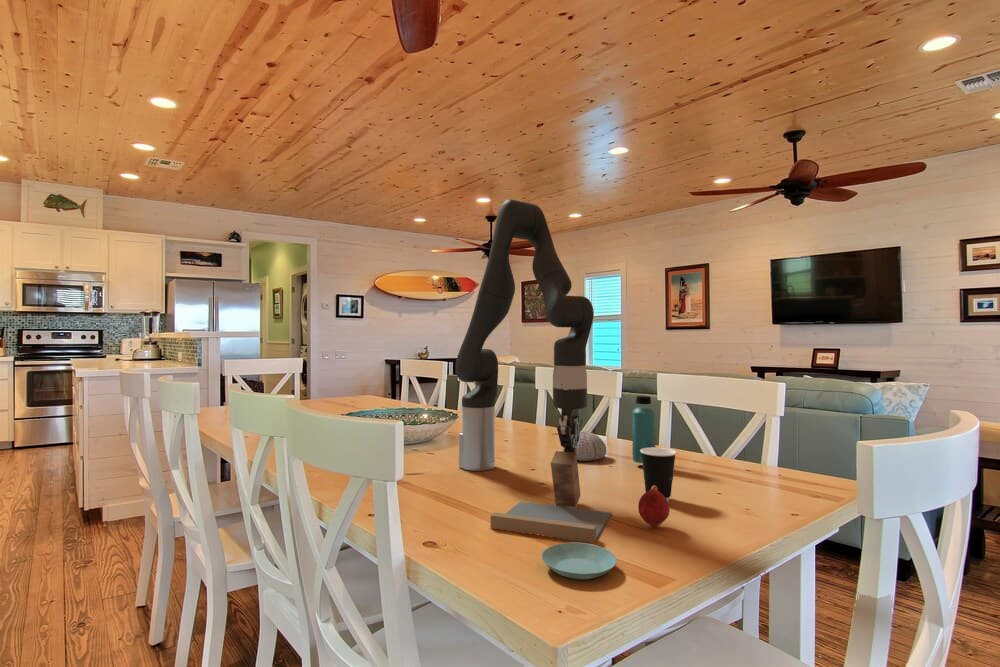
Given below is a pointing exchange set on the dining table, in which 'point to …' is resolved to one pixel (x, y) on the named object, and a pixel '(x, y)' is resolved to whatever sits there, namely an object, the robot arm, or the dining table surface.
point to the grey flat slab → (552, 521)
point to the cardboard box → (565, 479)
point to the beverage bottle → (643, 428)
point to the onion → (653, 507)
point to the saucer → (579, 560)
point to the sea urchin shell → (589, 447)
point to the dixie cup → (658, 469)
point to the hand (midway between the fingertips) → (569, 464)
